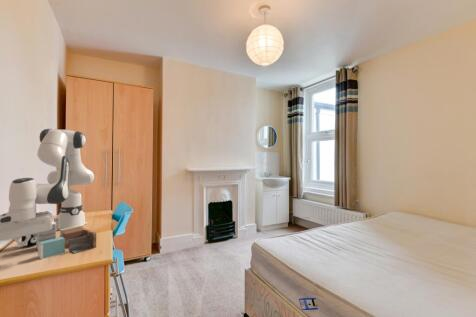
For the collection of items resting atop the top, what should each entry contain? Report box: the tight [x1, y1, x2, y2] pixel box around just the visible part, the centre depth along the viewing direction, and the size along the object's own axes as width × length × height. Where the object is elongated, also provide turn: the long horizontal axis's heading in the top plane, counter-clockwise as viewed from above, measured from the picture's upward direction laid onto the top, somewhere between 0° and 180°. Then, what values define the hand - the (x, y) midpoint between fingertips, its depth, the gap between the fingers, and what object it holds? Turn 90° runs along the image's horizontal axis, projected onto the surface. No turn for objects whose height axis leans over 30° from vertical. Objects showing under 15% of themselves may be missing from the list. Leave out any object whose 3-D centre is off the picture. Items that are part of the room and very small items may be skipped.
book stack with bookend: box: [59, 225, 97, 254], centre depth 116 cm, size 18×10×9 cm, turn 56°
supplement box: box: [35, 220, 57, 251], centre depth 116 cm, size 7×7×13 cm
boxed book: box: [37, 236, 66, 260], centre depth 107 cm, size 4×9×7 cm, turn 146°
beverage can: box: [20, 234, 36, 249], centre depth 118 cm, size 7×7×12 cm
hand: (22, 246), depth 98 cm, fingers closed
